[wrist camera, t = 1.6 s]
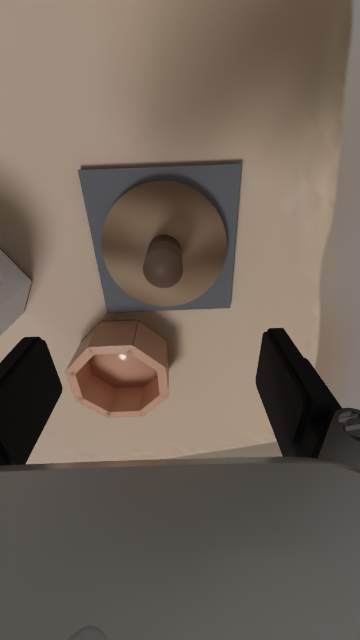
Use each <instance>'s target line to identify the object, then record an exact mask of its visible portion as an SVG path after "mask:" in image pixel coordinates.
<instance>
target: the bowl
mask: <svg viewBox="0 0 360 640" xmlns="http://www.w3.org/2000/svg"><path fill="white" fill-rule="evenodd" d="M65 374H66V376H67V379H68V382H69V385H70V388H71V390H72V393H73V396H74V399H75V400H76V402H78V403H80V404H82V405H84V406H86V407H88V408H90V409H92V410H94V411H96V412H98V413H99V414H101V415H103V416H105V417H108V418H112V417H137V416H143V415H144V416H145V415H146V414H147V413H149V412H150V411H151V410H153V409H154V408H155V407H156V406H158V405H159V404H160V403H162V402H163V401H164V400H165V399H167V398H168V388H169V361H168V348H167V341H166V340H165V339H164V338H162V337H161V336H160V335H158V334H157V333H155V332H154V331H153V330H151V329H150V328H149V327H147V326H146V325H144V324H143V323H142V322H140V321H138V320H127V321H102V322H99V323H98V325H97V326H96V327H95V328H94V329H93V330H92V331H91V332H90V333H89V334H88V336H87V337H86V338H85V339H84V340H83V341H82V342H81V343H80V345H79V347H78V349H77V350H76V352H75V354H74V356H73V358H72V360H71V362H70V364H69V365H68V367H67V369H66V371H65Z"/></svg>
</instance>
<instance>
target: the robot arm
mask: <svg viewBox="0 0 360 640" xmlns="http://www.w3.org/2000/svg"><path fill="white" fill-rule="evenodd" d="M256 386H257V389H258V392H259V394H260V397H261V400H262V402H263V405H264V408H265V410H266V413H267V416H268V418H269V421H270V424H271V426H272V429H273V431H274V434H275V437H276V439H277V442H278V445H279V447H280V450H281V453H282V455H283V457H228V458H192V459H160V460H130V461H102V462H75V463H50V464H26V462H27V460H28V458H29V456H30V454H31V452H32V450H33V448H34V446H35V444H36V442H37V440H38V438H39V436H40V434H41V432H42V430H43V428H44V426H45V424H46V423H47V421H48V419H49V417H50V415H51V413H52V411H53V409H54V407H55V405H56V403H57V401H58V399H59V397H60V395H61V393H62V385H61V382H60V379H59V376H58V374H57V371H56V368H55V366H54V363H53V360H52V358H51V355H50V352H49V349H48V347H47V344H46V342H45V341H44V340H42V339H41V338H40V337H24V338H23V339H22V340H21V341H20V342H19V343H18V344H17V345H16V346H15V347H14V348H13V349H12V351H11V352H10V353H9V354H8V355H7V356H6V357H5V358H4V359H3V360H2V361H1V363H0V640H360V410H358V409H353V408H341V406H340V405H339V403H338V402H337V400H336V399H335V397H334V396H333V395H332V393H331V392H330V390H329V389H328V387H327V386H326V385H325V383H324V382H323V380H322V379H321V378H320V376H319V375H318V374H317V372H316V370H315V369H314V368H313V366H312V365H311V363H310V362H309V361H308V360H307V359H306V358H303V356H302V355H301V353H300V352H299V350H298V349H297V347H296V346H295V344H294V343H293V342H292V340H291V339H290V337H289V336H288V334H287V333H286V331H285V330H284V329H283V328H269V329H268V331H267V332H264V333H263V337H262V343H261V350H260V356H259V362H258V368H257V374H256ZM25 464H26V465H25Z"/></svg>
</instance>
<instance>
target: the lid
mask: <svg viewBox="0 0 360 640" xmlns="http://www.w3.org/2000/svg"><path fill="white" fill-rule="evenodd" d="M101 247H102V254H103V258H104V262H105V265H106V267H107V270H108V271H109V273H110V275H111V277H112V278H113V280H114V281H115V282H116V284H117V285H118V286H119V287H120V288H121V289H122V290H123V291H125V292H126V293H127V294H128V295H130V296H131V297H133V298H135V299H137V300H139V301H141V302H143V303H146V304H150V305H154V306H161V307H170V306H177V305H182V304H185V303H188V302H190V301H192V300H194V299H196V298H198V297H199V296H201V295H202V294H204V293H205V292H206V291H207V290H208V289H209V288H210V287H211V286H212V285H213V284H214V282H215V281H216V280H217V278H218V276H219V275H220V273H221V271H222V268H223V266H224V262H225V258H226V252H227V238H226V232H225V228H224V225H223V222H222V220H221V217H220V215H219V214H218V212H217V210H216V209H215V207H214V206H213V205H212V204H211V202H210V201H209V200H208V199H207V198H206V197H204V196H203V195H202V194H201V193H200V192H198V191H197V190H195V189H194V188H192V187H190V186H188V185H185V184H182V183H179V182H175V181H169V180H158V181H151V182H147V183H143V184H141V185H139V186H136V187H134V188H133V189H131V190H129V191H128V192H126V193H125V194H124V195H123V196H122V197H120V198H119V199H118V200H117V202H116V203H115V204H114V205H113V207H112V208H111V210H110V211H109V213H108V215H107V218H106V220H105V223H104V226H103V230H102V237H101Z"/></svg>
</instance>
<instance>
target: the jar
mask: <svg viewBox="0 0 360 640" xmlns="http://www.w3.org/2000/svg"><path fill="white" fill-rule="evenodd" d="M31 283H32V281H31V280H30V279H29V278H28V277H27V276H26V275H25V274H24V273H23V272H22V271H21V270H20V269H19V268H18V267H17V266H16V265H15V264H14V263H13V262H12V260H11V259H10V258H9V257H8V256H7V255H6V254H5V253H4V252H3V251H2V250H1V249H0V335H1V334H2V333H3V332H4V331H5V330H6V329H8V328H9V327H10V326H11V325H12V324H13V323H14V322H15V321H16V320H17V319H18V318H19V317H20V316H21V315H22V314H23V313H24V309H25V305H26V302H27V298H28V294H29V290H30V287H31Z"/></svg>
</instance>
